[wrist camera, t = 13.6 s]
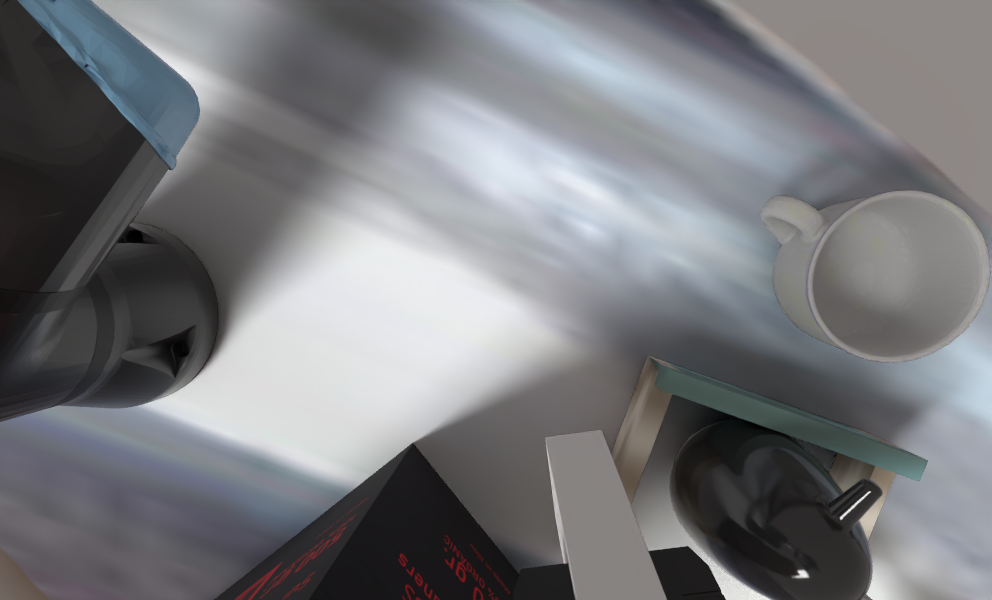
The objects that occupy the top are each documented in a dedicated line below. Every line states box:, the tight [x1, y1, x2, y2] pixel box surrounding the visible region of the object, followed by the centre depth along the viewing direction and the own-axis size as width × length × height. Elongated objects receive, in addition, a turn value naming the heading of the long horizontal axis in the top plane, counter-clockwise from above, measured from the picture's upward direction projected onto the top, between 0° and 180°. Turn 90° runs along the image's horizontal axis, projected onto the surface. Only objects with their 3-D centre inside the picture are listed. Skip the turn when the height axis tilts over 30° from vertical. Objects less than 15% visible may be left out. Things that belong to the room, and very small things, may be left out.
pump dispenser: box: [670, 419, 883, 600], centre depth 33 cm, size 10×10×15 cm
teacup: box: [760, 190, 990, 362], centre depth 35 cm, size 14×11×8 cm
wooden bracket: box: [611, 356, 928, 539], centre depth 37 cm, size 18×18×6 cm
